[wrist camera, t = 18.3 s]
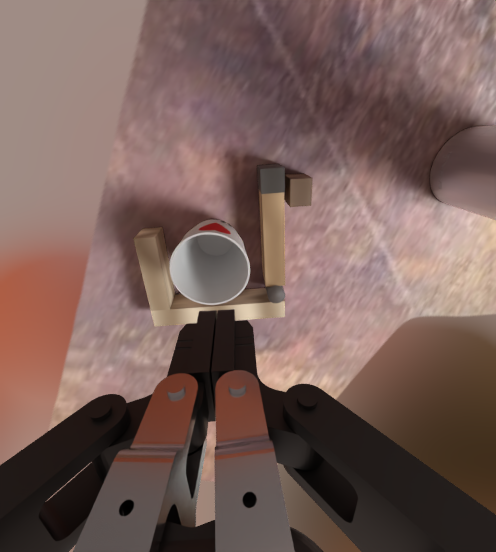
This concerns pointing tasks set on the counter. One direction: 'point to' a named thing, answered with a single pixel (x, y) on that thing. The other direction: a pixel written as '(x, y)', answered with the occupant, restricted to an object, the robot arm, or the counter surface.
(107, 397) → the robot arm
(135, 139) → the counter surface
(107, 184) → the counter surface
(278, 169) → the leg
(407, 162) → the counter surface
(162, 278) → the jointed wooden sticks
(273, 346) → the counter surface
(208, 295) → the cup
